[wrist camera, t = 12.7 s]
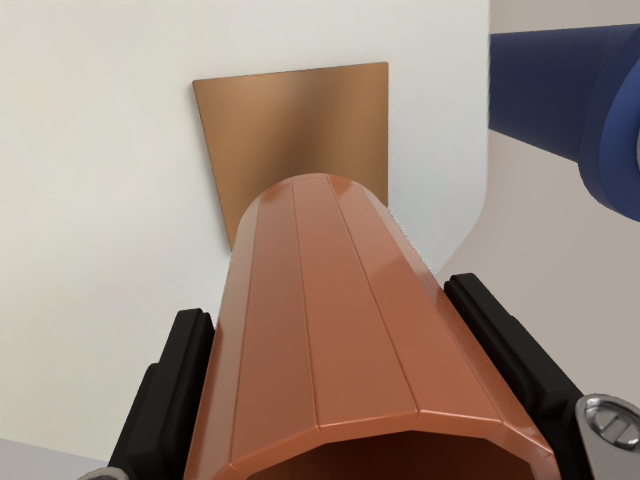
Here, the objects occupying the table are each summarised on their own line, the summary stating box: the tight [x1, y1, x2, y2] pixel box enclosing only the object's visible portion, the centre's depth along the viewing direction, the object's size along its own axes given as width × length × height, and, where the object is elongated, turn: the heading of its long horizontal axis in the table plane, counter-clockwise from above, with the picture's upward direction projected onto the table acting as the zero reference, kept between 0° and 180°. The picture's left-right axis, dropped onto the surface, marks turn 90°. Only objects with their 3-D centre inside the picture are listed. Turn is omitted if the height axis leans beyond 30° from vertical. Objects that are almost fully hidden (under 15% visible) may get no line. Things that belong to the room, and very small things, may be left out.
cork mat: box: [193, 62, 388, 252], centre depth 25 cm, size 12×12×1 cm
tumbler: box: [182, 173, 562, 480], centre depth 10 cm, size 6×6×10 cm
